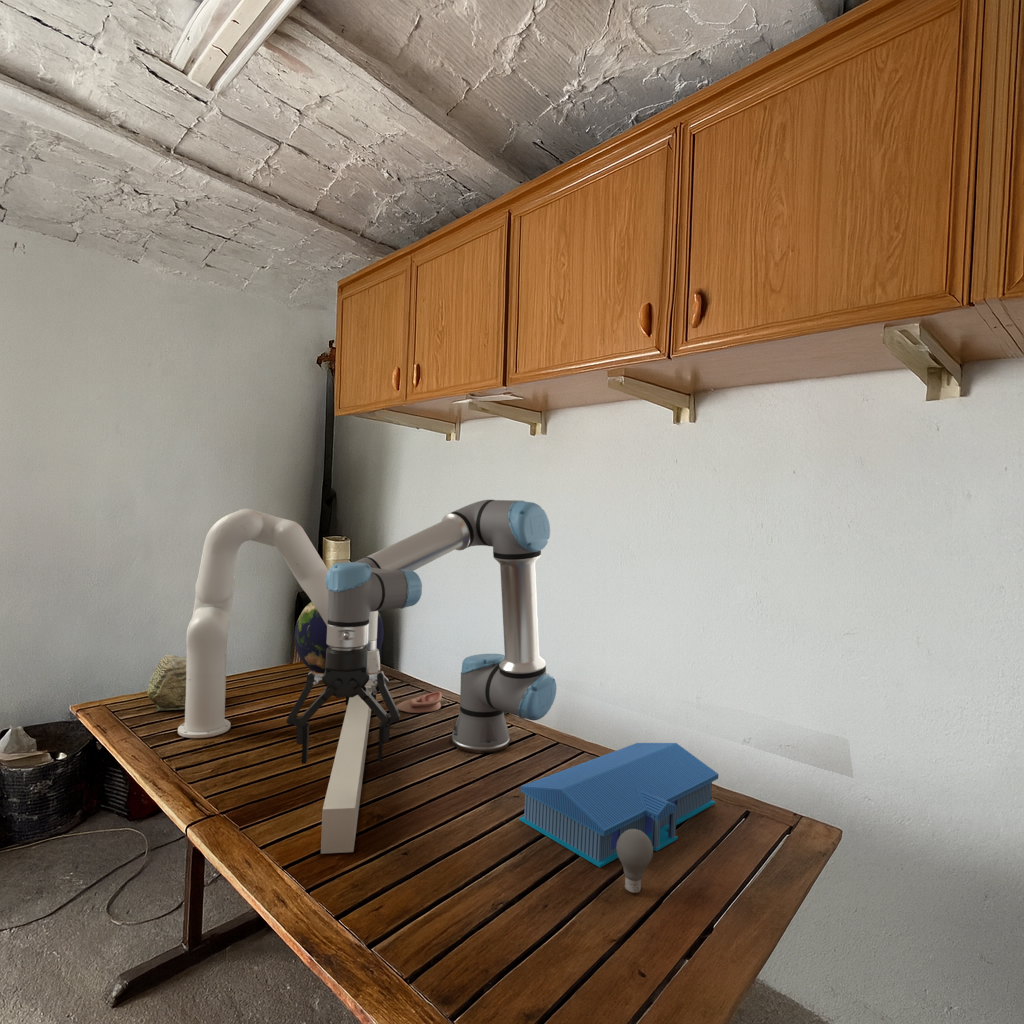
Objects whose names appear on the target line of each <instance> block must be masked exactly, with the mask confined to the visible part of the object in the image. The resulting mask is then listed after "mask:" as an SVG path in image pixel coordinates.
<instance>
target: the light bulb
mask: <svg viewBox="0 0 1024 1024" xmlns="http://www.w3.org/2000/svg"><path fill="white" fill-rule="evenodd" d="M616 849H617V854H618V859H619V861H620V863H621V865H622V867H623V873H624V874H623V875H624V876H625V878H624V888H625V890H627V891H628V892H630V893H634V894H635V893H639V892H640V891H641V889H642V887H641V886H642V879H643V877H644V875H645V871H646V868H647V867H648V866H649V864H650V863H651V861H652V859H653V855H654V850H653V846H652V843H651V841H650V839H649V838H648V836H647V835H646V834H645V833H644V832H642V831H640V830H637V829H629V830H627V831H625V832H623V833H622V834H621V835H620V837H619V839H618V841H617V846H616Z"/></svg>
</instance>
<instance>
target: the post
mask: <svg viewBox="0 0 1024 1024" xmlns="http://www.w3.org/2000/svg"><path fill="white" fill-rule="evenodd" d="M365 687H366V688H367V689H368V691H369V693H370V694H371V693H372V689H371V686H365ZM371 715H372V710H371V709H370V708H369V706H368V705H367V704H366V703H365V702H364V701H363V700H362V699H361V698H360V697H359V696H358V695H356V696H354V697H349V701H348V705H346V710H345V714H344V719H343V723H342V727H341V730H340V735H339V739H338V744H337V747H336V748H337V749H336V752H335V756H334V761H333V765H332V769H331V773H330V777H329V781H328V785H327V789H326V793H325V798H324V800H323V801H324V802H323V806H322V813H321V814H322V815H321V816H322V817H321V837H320V839H321V840H320V855H325V854H326V855H327V854H340V853H341V854H343V853H354V850H355V843H356V842H355V841H356V836H357V835H356V834H357V827H358V819H359V810H360V803H361V796H362V795H361V794H362V788H363V778H364V771H365V762H366V756H367V755H366V754H367V746H368V738H369V731H370V723H371Z"/></svg>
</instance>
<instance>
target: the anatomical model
mask: <svg viewBox="0 0 1024 1024" xmlns="http://www.w3.org/2000/svg"><path fill="white" fill-rule="evenodd" d="M442 698H443V693H442V692H441V691H434V692H429V693H425V694H422V695H419V696H417V697H413V698H411V699H407V700H404V701H402V702H401V701H400V702H399V703H398V704H395V705H396V707H397V709H398V711H401V712H405V713H408V714H409V713H410V714H411V713H412V714H417V713H418V714H419V713H420V714H421V713H431V712H435V711H438V710H439V709H441V707H442V704H441V700H442Z"/></svg>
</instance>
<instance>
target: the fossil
mask: <svg viewBox="0 0 1024 1024" xmlns="http://www.w3.org/2000/svg"><path fill="white" fill-rule="evenodd" d="M186 665H187V656H183V657H182V656H178V655H175V654H174V655H173V654H165V655H164V656H163V657H162V658H161V659H160V660H159V662H158V663H157V666H156V667H155V669H154V670H153V672H152V675H151V677H150V680H149V684H148V688H147V697H148V699H149V700H150V701H152V703H153V704H154V706H155V711H158V712H159V711H162V712H163V711H177V710H185V701H186Z"/></svg>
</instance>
